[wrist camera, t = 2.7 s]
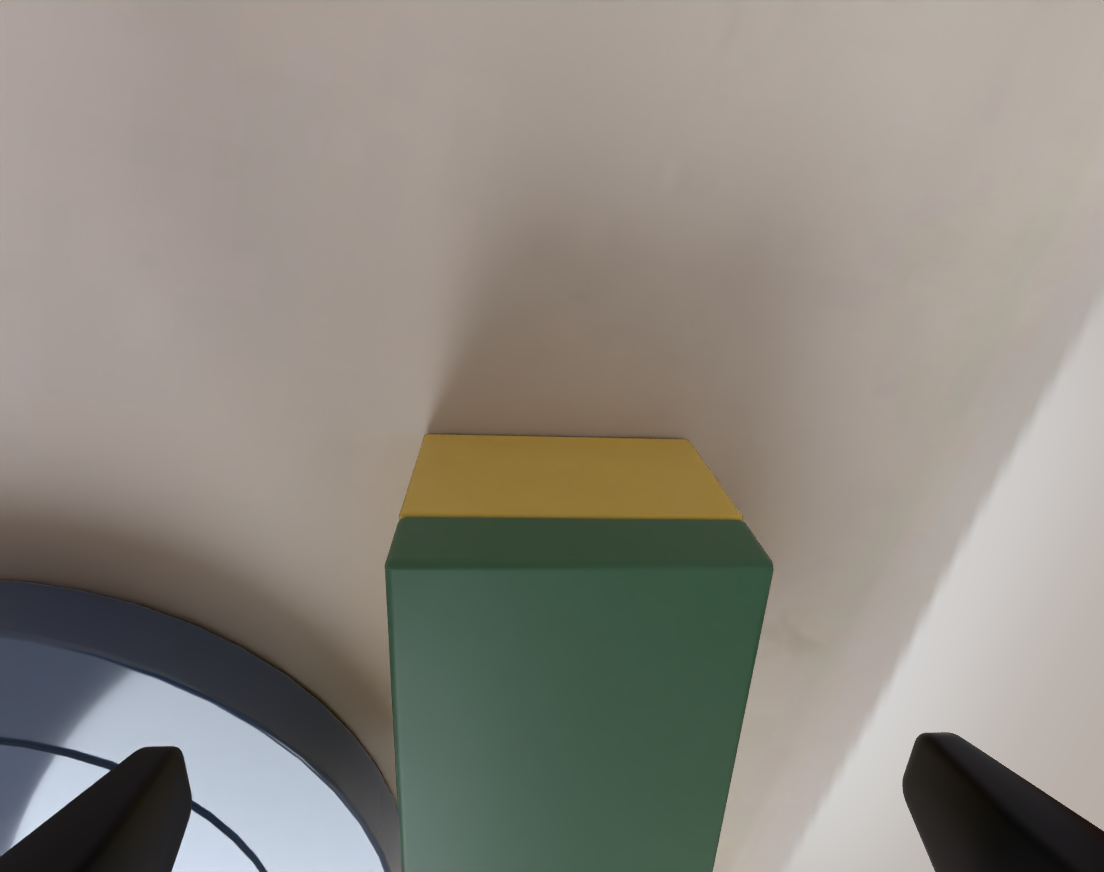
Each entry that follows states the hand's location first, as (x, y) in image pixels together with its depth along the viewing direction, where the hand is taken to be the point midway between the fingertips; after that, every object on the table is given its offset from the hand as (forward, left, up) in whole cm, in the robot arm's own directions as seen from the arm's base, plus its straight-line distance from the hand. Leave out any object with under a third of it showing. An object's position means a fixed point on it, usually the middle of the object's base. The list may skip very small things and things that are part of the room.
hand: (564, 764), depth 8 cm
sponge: (0, 0, -3) cm, 3 cm away
